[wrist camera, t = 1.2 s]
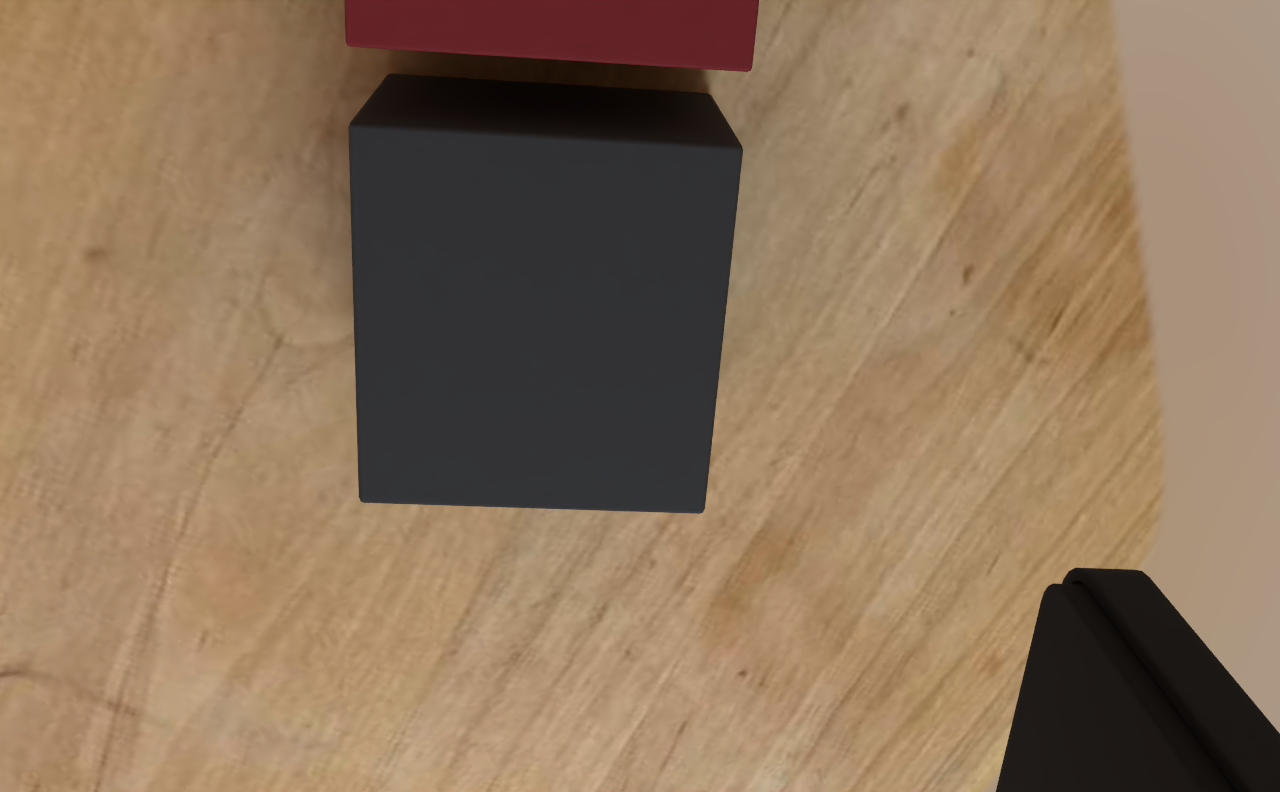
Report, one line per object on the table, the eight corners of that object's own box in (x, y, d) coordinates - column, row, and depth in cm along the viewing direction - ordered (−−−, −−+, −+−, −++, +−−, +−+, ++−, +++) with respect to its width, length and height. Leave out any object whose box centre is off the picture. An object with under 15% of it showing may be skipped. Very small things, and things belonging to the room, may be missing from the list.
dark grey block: (385, 72, 20) (347, 122, 16) (712, 93, 21) (744, 145, 17) (390, 399, 23) (358, 504, 19) (682, 410, 23) (704, 515, 19)
